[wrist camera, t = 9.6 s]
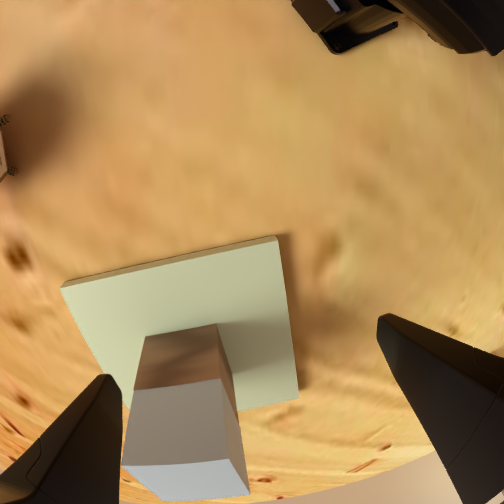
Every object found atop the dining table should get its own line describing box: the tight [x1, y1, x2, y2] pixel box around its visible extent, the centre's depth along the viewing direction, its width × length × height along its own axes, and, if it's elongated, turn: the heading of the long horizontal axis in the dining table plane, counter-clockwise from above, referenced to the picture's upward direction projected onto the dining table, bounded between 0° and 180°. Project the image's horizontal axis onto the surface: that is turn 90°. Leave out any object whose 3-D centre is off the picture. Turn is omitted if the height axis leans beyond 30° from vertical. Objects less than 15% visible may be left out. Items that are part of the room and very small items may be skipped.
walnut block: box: [133, 323, 239, 424], centre depth 20 cm, size 6×6×6 cm
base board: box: [59, 235, 299, 412], centre depth 23 cm, size 16×16×1 cm
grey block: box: [121, 378, 251, 502], centre depth 15 cm, size 6×6×6 cm
